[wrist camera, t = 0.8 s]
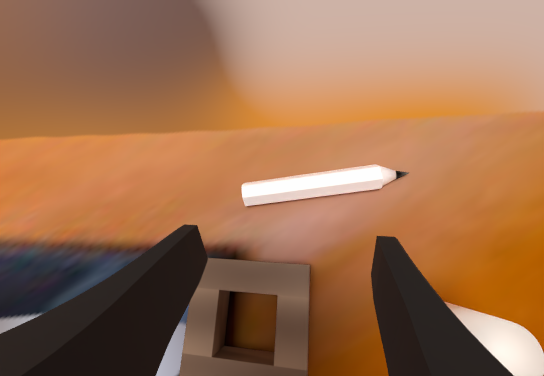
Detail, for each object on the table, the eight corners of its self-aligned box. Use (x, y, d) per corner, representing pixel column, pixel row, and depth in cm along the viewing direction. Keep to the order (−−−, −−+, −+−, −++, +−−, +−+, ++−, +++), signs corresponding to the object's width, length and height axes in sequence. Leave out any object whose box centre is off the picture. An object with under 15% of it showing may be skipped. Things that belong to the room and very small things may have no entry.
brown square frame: (307, 391, 21) (306, 410, 18) (194, 373, 23) (177, 389, 20) (310, 264, 24) (309, 265, 21) (209, 257, 26) (195, 257, 23)
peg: (454, 339, 21) (551, 393, 12) (413, 335, 21) (479, 384, 13) (449, 299, 21) (538, 323, 13) (410, 296, 22) (470, 317, 13)
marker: (404, 179, 26) (248, 200, 28) (403, 158, 25) (244, 181, 27) (416, 185, 23) (243, 208, 25) (415, 162, 23) (239, 187, 25)
